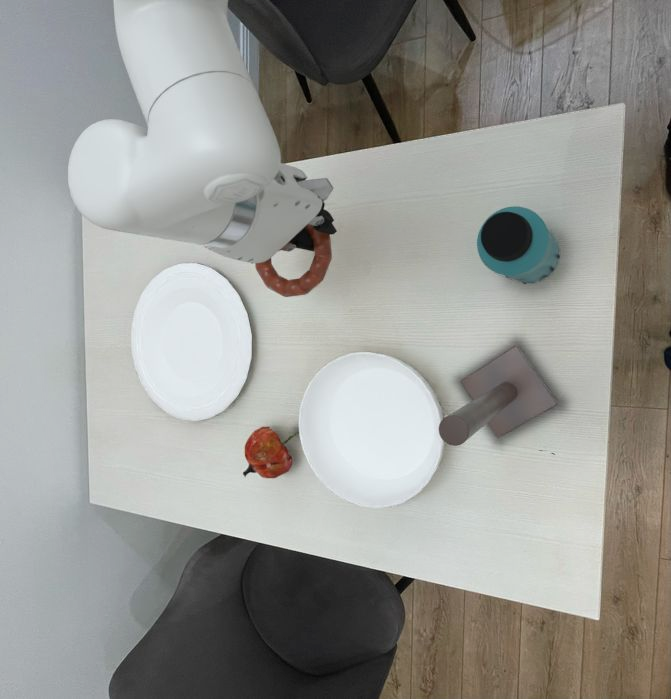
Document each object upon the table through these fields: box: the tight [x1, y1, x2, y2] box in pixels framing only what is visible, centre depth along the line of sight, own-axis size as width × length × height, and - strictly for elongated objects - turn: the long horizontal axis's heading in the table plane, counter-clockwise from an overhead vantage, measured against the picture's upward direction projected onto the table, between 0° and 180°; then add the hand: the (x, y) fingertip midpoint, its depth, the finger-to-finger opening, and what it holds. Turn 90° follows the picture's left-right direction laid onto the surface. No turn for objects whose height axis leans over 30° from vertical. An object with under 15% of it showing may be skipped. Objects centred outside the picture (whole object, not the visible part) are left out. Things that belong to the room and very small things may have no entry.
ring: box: [254, 224, 333, 298], centre depth 64 cm, size 10×10×2 cm
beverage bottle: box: [476, 205, 562, 285], centre depth 54 cm, size 6×7×20 cm
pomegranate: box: [242, 426, 299, 479], centre depth 77 cm, size 7×7×10 cm
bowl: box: [298, 351, 446, 509], centre depth 69 cm, size 20×20×6 cm
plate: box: [130, 262, 254, 422], centre depth 86 cm, size 25×25×2 cm
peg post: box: [439, 344, 559, 447], centre depth 53 cm, size 8×8×25 cm
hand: (319, 231), depth 63 cm, fingers closed on ring, 2 cm apart
